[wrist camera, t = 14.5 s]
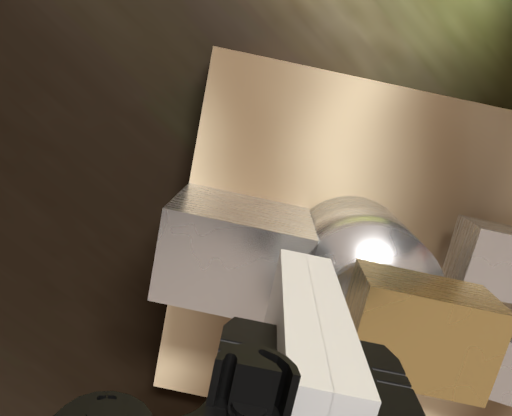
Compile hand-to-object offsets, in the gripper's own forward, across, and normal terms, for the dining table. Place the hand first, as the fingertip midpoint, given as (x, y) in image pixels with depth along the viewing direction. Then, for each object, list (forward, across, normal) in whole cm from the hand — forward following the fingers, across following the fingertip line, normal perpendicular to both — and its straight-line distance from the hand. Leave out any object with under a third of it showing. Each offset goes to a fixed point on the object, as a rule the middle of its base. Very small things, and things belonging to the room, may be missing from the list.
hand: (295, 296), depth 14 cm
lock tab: (+1, +4, 0) cm, 4 cm away
